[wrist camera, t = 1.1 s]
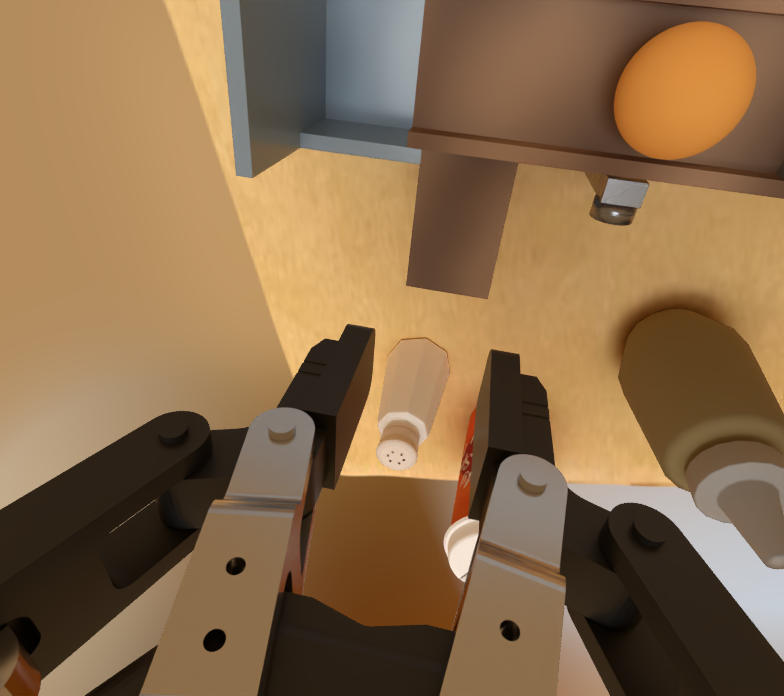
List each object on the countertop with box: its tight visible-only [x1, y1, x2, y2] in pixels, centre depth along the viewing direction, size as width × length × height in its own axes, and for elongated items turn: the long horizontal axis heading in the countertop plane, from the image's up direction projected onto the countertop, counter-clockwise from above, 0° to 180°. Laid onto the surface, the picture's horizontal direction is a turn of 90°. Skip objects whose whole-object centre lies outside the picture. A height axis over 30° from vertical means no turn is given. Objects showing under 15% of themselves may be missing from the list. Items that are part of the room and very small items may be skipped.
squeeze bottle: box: [618, 309, 784, 569], centre depth 29 cm, size 8×8×18 cm
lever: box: [406, 0, 784, 299], centre depth 19 cm, size 17×13×4 cm
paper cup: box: [444, 409, 479, 582], centre depth 38 cm, size 8×8×14 cm
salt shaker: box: [376, 338, 450, 470], centre depth 37 cm, size 5×5×11 cm
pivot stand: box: [585, 172, 649, 225], centre depth 23 cm, size 5×10×12 cm, turn 175°
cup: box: [220, 0, 425, 178], centre depth 24 cm, size 11×11×12 cm
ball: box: [614, 21, 756, 160], centre depth 16 cm, size 4×4×4 cm
